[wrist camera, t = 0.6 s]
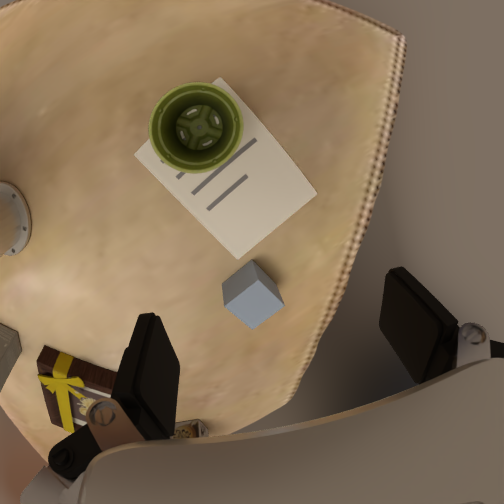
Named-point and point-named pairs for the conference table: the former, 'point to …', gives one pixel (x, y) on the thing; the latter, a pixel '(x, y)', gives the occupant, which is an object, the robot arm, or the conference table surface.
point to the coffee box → (190, 430)
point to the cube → (251, 295)
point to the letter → (238, 185)
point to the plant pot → (176, 120)
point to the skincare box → (8, 352)
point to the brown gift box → (71, 387)
